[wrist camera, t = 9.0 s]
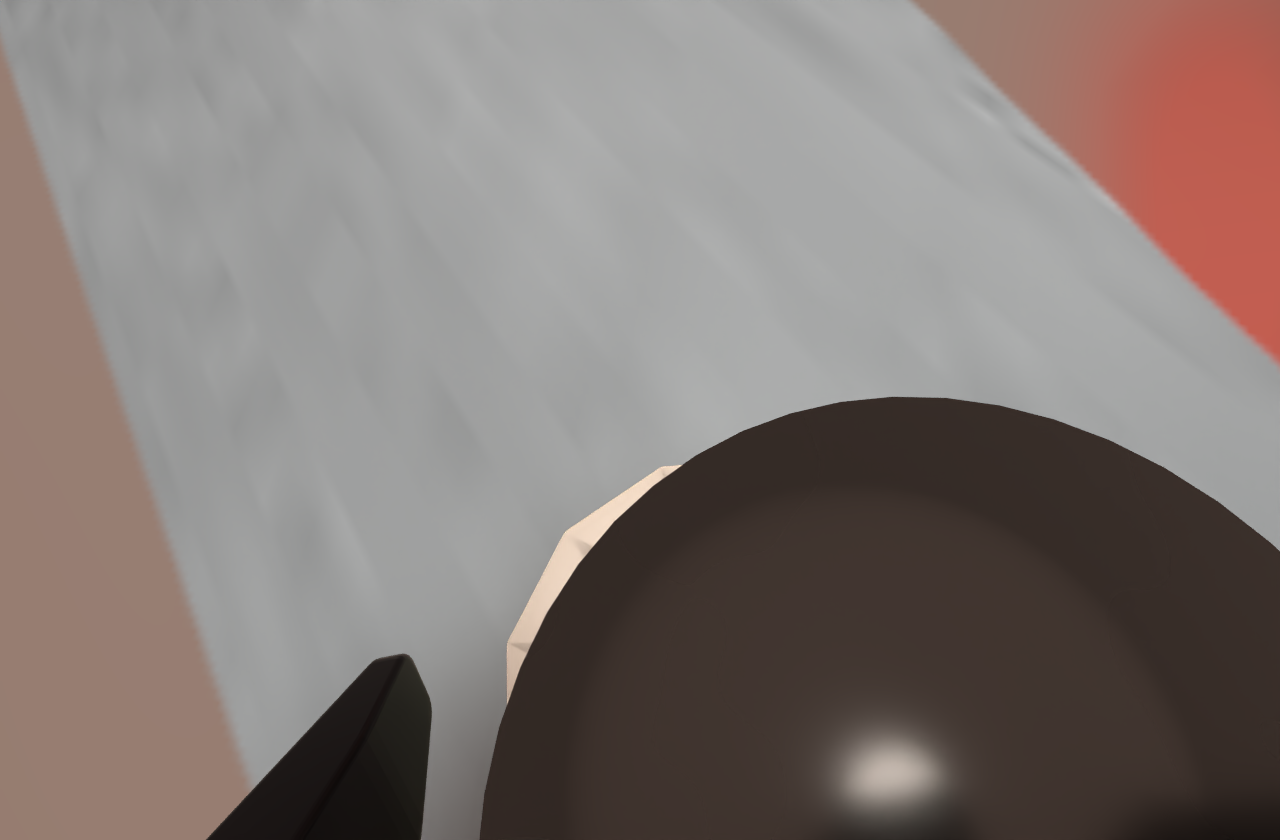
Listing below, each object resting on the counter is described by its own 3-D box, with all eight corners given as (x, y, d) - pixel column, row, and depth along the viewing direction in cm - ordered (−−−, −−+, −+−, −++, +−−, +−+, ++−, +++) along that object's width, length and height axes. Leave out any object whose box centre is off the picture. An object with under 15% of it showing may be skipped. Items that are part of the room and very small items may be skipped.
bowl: (957, 887, 15) (1055, 973, 11) (550, 911, 15) (507, 1004, 11) (880, 485, 18) (934, 444, 14) (542, 512, 18) (506, 479, 14)
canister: (873, 744, 15) (1832, 1230, 3) (684, 838, 14) (748, 1970, 2) (775, 551, 16) (1082, 281, 4) (601, 632, 16) (362, 599, 4)
